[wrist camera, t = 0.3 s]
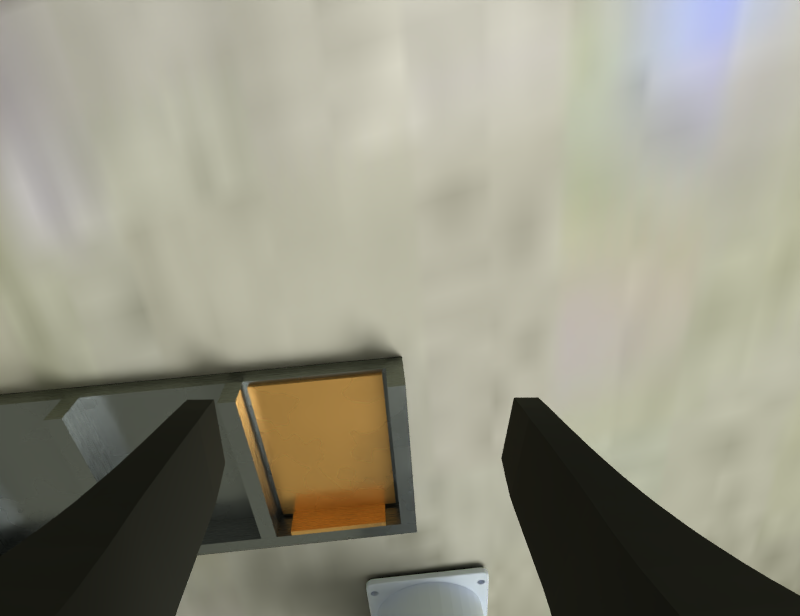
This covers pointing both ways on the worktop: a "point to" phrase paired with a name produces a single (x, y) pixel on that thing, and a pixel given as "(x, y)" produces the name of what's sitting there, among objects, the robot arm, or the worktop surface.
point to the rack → (228, 451)
